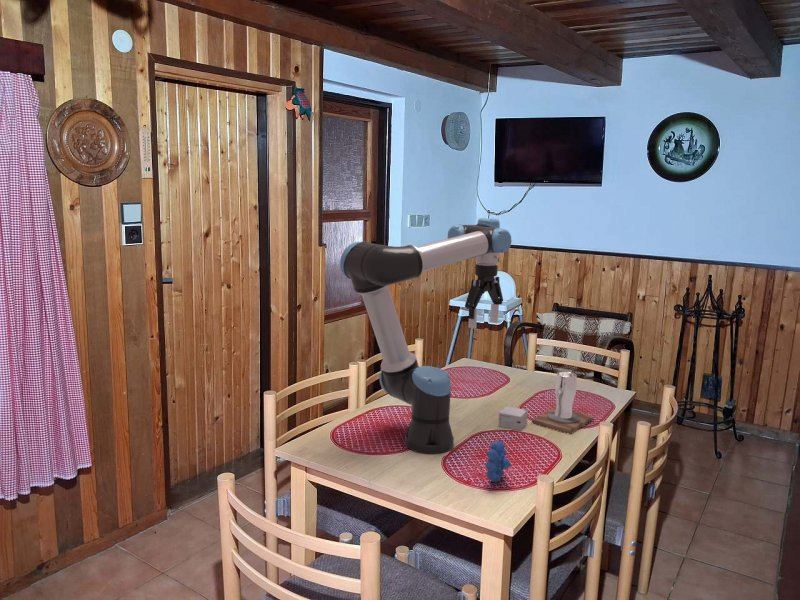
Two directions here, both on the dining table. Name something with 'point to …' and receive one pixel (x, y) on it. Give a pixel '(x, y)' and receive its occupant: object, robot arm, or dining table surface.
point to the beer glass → (565, 394)
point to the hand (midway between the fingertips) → (483, 325)
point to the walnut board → (562, 421)
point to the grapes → (496, 461)
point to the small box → (513, 418)
